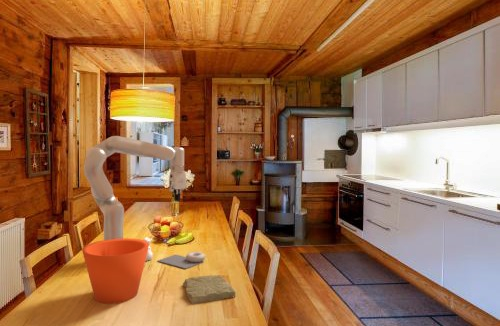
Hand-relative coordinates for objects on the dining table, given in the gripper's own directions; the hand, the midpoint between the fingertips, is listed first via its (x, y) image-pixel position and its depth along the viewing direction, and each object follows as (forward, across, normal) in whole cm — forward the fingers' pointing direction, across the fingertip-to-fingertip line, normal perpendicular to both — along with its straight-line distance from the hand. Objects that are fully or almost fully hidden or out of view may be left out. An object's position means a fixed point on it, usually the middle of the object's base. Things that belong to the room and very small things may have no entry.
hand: (177, 200), depth 202 cm
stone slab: (+30, -34, -51) cm, 68 cm away
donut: (+27, -6, -17) cm, 32 cm away
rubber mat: (+29, -14, -16) cm, 36 cm away
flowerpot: (+29, -58, -24) cm, 69 cm away
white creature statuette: (+29, -21, +2) cm, 36 cm away
